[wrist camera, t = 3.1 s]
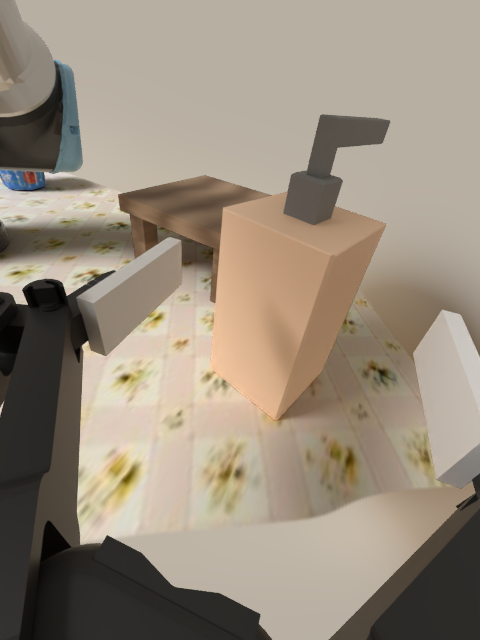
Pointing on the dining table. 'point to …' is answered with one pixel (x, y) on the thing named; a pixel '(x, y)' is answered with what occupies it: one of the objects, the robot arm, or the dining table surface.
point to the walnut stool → (184, 213)
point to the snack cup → (22, 179)
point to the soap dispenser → (291, 274)
